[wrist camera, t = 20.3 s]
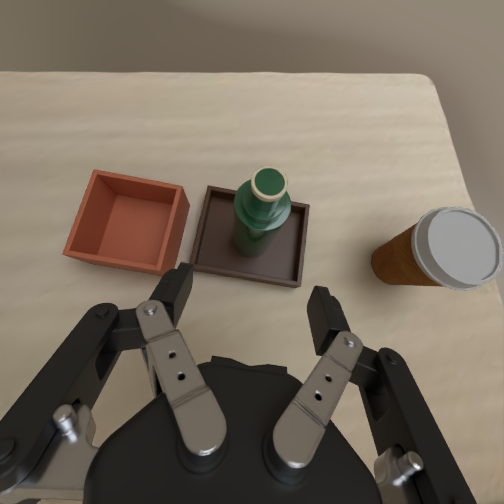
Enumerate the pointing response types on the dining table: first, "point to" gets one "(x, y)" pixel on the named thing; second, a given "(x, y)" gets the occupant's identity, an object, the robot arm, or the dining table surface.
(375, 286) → the dining table surface
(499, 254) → the disposable coffee cup
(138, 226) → the bin
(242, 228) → the bottle
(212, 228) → the tray
